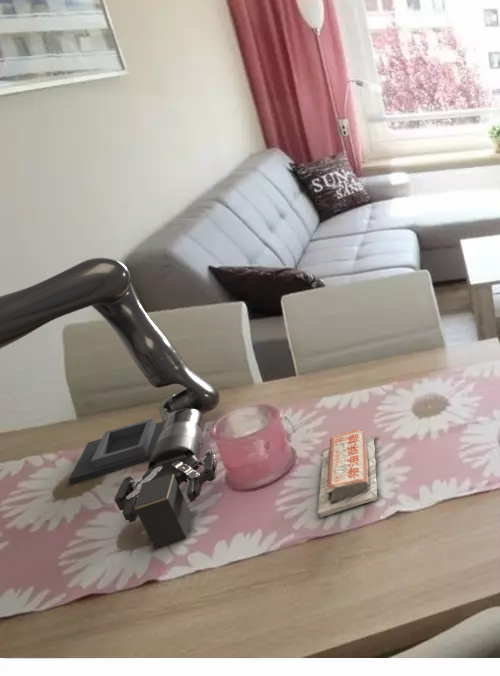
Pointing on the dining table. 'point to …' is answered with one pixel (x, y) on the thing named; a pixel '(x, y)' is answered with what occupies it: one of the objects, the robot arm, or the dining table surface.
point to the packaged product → (347, 473)
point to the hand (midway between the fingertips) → (161, 507)
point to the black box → (163, 511)
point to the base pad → (117, 450)
